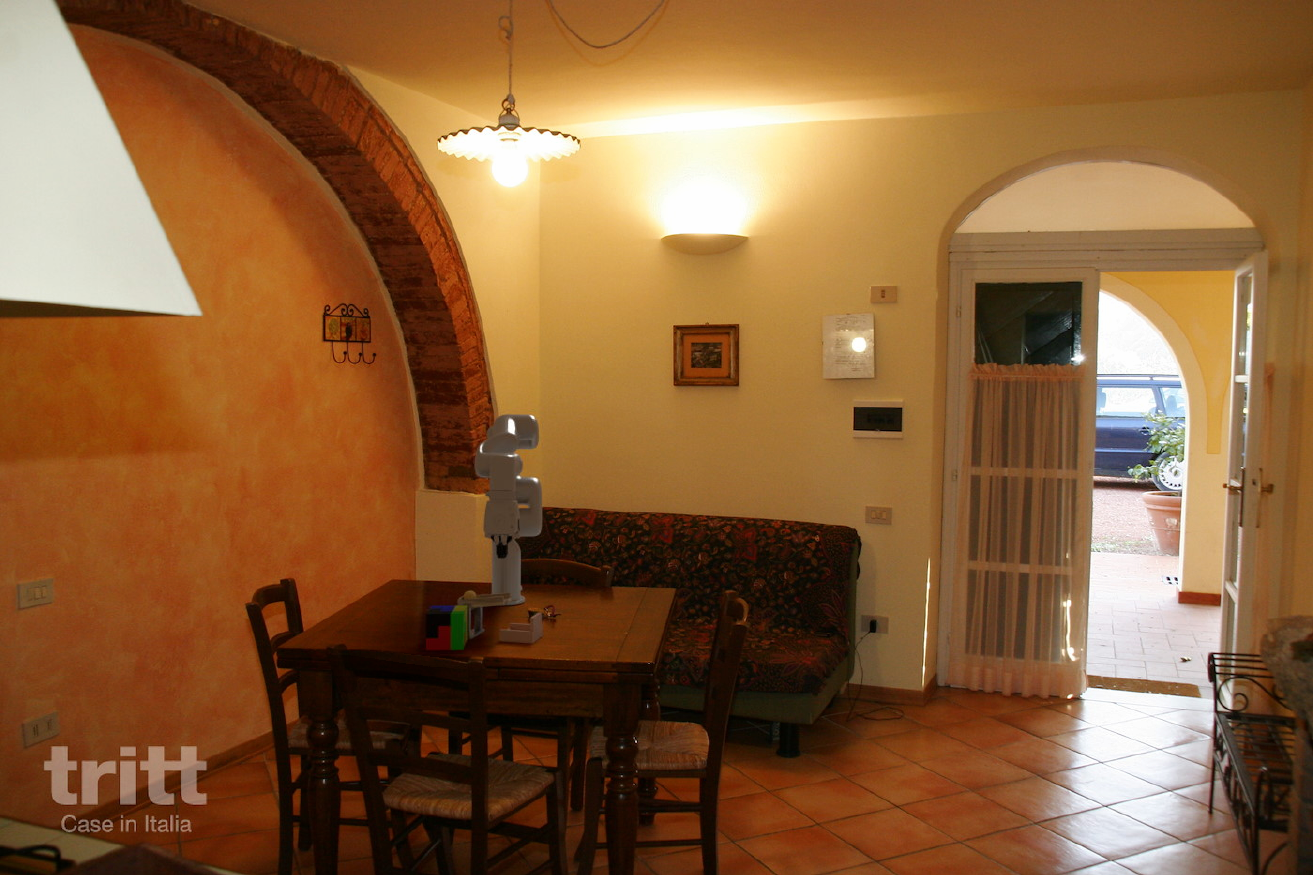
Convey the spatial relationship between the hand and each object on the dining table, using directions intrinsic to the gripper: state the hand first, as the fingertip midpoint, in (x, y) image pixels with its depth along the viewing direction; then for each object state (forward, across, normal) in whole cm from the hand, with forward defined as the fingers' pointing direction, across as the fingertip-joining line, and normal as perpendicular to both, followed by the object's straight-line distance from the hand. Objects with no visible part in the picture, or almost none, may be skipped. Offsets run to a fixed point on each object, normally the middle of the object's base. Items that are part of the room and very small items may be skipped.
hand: (502, 557), depth 278 cm
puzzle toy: (+22, -9, -18) cm, 30 cm away
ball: (+11, -7, -7) cm, 15 cm away
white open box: (+22, +9, -7) cm, 25 cm away
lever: (+17, -5, -4) cm, 18 cm away
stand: (+22, -6, -7) cm, 24 cm away
